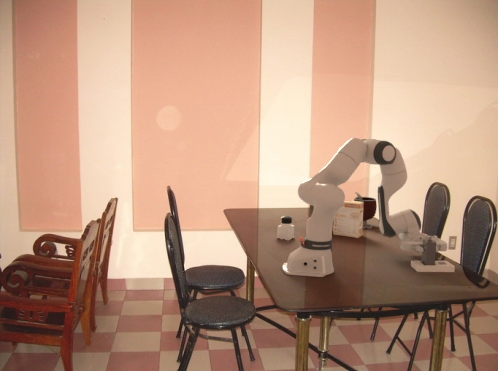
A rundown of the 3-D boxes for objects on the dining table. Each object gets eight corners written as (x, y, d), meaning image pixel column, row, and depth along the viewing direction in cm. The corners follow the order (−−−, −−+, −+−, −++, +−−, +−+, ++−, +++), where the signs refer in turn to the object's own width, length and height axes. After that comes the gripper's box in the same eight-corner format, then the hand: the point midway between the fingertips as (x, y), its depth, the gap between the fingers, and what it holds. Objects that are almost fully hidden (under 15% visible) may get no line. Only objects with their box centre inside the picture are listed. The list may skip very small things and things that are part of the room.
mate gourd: (380, 227, 293) (382, 194, 290) (363, 229, 286) (364, 196, 283) (362, 222, 307) (364, 191, 304) (345, 224, 300) (347, 192, 297)
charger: (425, 270, 208) (427, 237, 206) (421, 267, 213) (423, 235, 211) (434, 270, 208) (436, 237, 206) (430, 267, 213) (432, 235, 211)
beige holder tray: (417, 275, 207) (418, 265, 206) (410, 269, 214) (411, 260, 214) (454, 275, 207) (454, 266, 207) (445, 269, 215) (446, 260, 214)
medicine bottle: (294, 237, 265) (295, 216, 263) (288, 240, 259) (289, 218, 257) (283, 235, 269) (283, 214, 267) (276, 238, 263) (277, 217, 261)
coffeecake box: (362, 235, 273) (364, 201, 270) (358, 238, 266) (360, 203, 264) (337, 232, 280) (338, 198, 277) (332, 234, 274) (334, 200, 271)
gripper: (395, 235, 221) (406, 243, 208) (439, 235, 222) (453, 243, 208) (394, 248, 222) (405, 257, 208) (438, 248, 223) (452, 257, 209)
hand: (429, 250), depth 208 cm, fingers closed on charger, 4 cm apart
